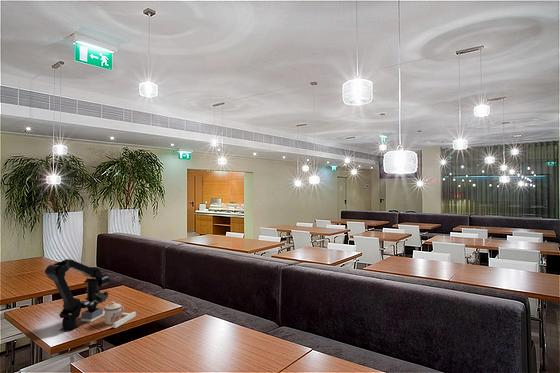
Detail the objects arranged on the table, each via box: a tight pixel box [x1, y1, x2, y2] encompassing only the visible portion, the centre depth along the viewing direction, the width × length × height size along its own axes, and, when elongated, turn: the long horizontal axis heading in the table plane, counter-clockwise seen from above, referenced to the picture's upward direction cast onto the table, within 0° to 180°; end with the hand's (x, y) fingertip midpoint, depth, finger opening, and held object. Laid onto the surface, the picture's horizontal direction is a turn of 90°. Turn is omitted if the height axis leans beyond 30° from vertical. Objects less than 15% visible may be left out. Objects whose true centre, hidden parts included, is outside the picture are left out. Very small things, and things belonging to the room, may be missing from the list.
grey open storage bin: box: [80, 306, 137, 329], centre depth 196 cm, size 18×26×5 cm
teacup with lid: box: [103, 301, 125, 326], centre depth 195 cm, size 12×9×12 cm
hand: (92, 314), depth 198 cm, fingers closed
